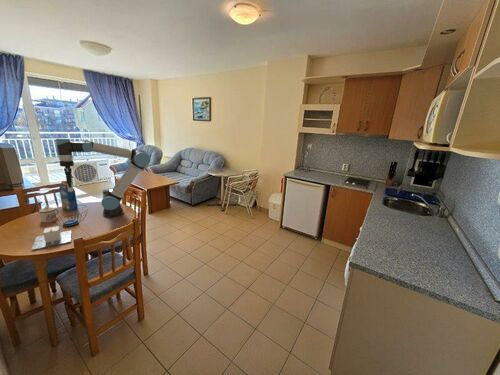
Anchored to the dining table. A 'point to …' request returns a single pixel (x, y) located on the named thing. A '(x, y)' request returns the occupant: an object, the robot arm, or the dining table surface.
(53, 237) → the white box
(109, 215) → the robot arm
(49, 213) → the teacup with lid
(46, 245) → the panel
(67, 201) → the blue food package
